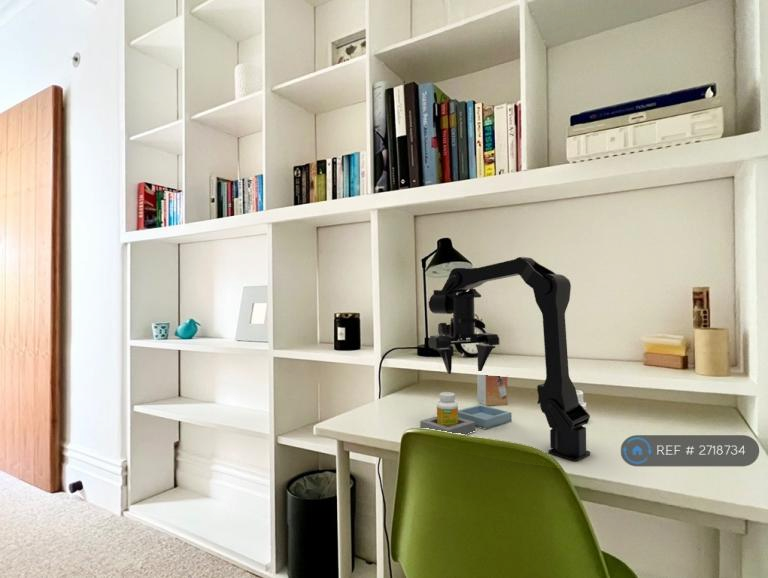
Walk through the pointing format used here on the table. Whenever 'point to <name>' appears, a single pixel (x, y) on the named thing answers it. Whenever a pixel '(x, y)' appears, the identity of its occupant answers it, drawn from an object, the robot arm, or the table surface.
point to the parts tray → (485, 416)
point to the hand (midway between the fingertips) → (464, 372)
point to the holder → (461, 427)
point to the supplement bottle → (447, 410)
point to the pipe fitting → (581, 398)
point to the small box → (492, 390)
